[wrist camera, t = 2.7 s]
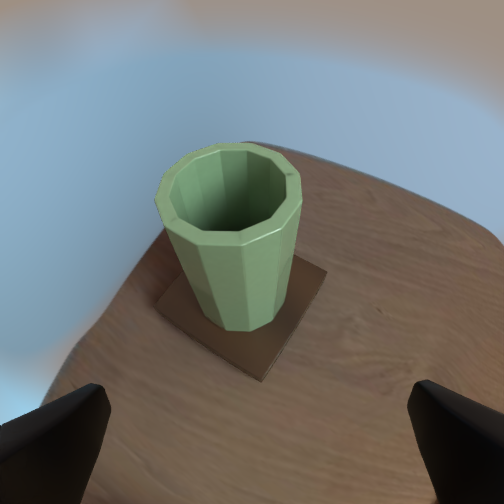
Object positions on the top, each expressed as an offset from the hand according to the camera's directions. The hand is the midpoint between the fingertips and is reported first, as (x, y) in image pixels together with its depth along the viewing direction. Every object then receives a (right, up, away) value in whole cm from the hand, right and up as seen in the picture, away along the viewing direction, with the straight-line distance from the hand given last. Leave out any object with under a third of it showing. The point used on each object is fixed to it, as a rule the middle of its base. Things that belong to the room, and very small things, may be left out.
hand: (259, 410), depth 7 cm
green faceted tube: (-1, +1, +15) cm, 15 cm away
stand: (-1, 0, +16) cm, 16 cm away
